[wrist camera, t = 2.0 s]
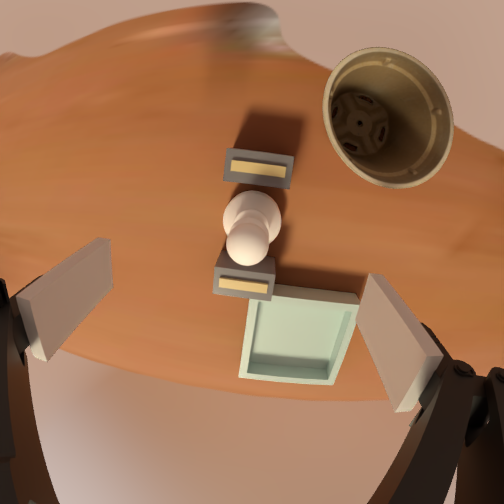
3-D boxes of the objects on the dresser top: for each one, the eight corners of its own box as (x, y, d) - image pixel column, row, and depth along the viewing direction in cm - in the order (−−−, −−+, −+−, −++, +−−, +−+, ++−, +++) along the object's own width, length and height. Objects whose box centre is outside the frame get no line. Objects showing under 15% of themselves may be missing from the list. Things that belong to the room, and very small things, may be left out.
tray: (355, 293, 29) (362, 305, 27) (329, 370, 33) (332, 385, 30) (252, 280, 29) (250, 292, 27) (240, 362, 33) (238, 377, 30)
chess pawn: (271, 182, 26) (274, 201, 17) (287, 235, 28) (295, 276, 19) (217, 199, 27) (194, 225, 18) (235, 250, 28) (221, 295, 20)
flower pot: (309, 177, 26) (329, 191, 17) (299, 74, 22) (314, 43, 14) (405, 174, 25) (455, 188, 17) (397, 77, 22) (444, 57, 14)
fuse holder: (290, 155, 25) (294, 156, 21) (270, 281, 29) (270, 303, 25) (232, 147, 25) (226, 148, 21) (219, 274, 29) (211, 295, 25)
